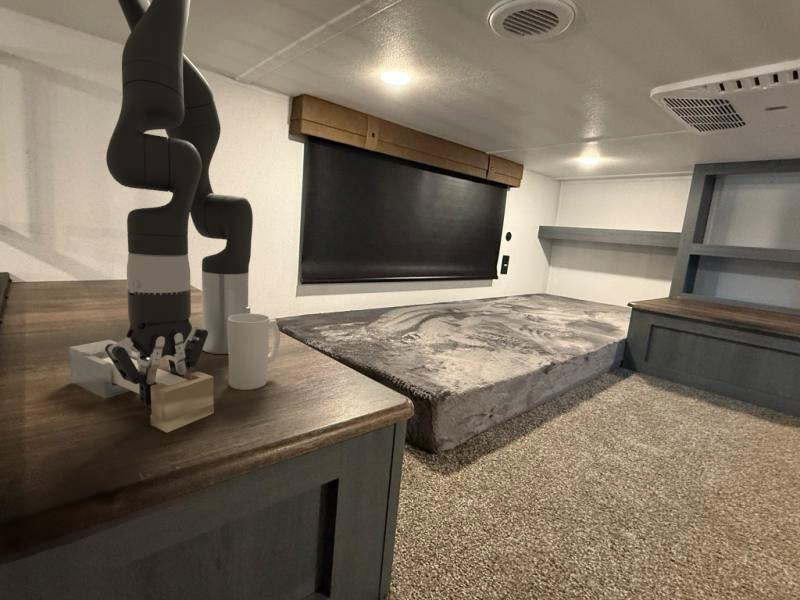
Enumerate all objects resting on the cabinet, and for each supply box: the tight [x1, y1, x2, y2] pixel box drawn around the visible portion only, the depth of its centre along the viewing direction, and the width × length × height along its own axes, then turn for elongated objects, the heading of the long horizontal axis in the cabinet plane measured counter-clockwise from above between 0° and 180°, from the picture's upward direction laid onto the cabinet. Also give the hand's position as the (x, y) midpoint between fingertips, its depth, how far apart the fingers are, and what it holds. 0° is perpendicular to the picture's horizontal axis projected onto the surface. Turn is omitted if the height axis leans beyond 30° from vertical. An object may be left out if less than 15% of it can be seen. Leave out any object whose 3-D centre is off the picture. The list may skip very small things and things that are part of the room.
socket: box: [150, 371, 215, 433], centre depth 55 cm, size 4×7×6 cm, turn 152°
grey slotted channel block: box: [68, 339, 138, 400], centre depth 63 cm, size 10×6×6 cm, turn 62°
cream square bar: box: [102, 357, 190, 395], centre depth 59 cm, size 18×3×3 cm, turn 62°
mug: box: [228, 313, 281, 391], centre depth 69 cm, size 10×7×12 cm, turn 146°
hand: (162, 401), depth 57 cm, fingers closed on cream square bar, 3 cm apart
